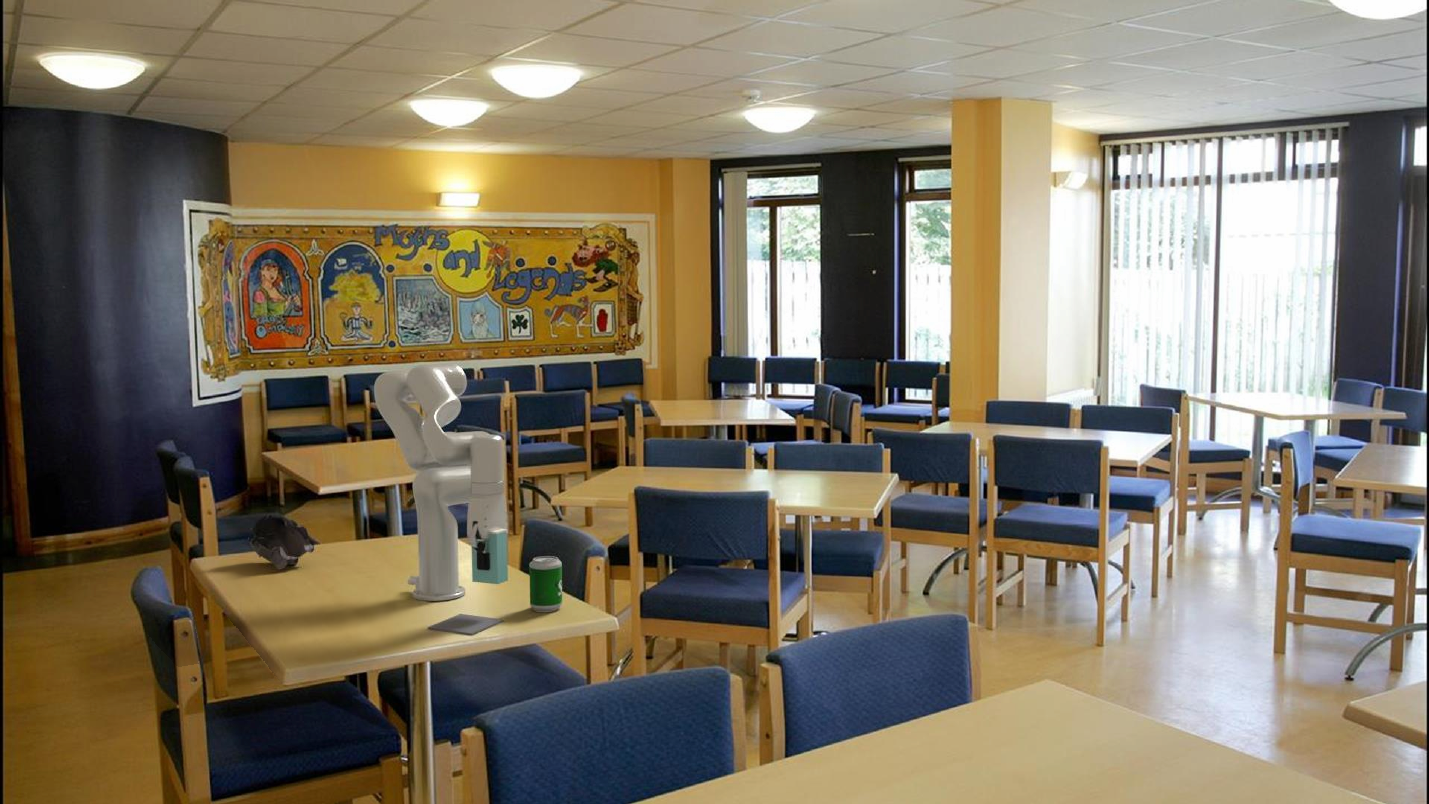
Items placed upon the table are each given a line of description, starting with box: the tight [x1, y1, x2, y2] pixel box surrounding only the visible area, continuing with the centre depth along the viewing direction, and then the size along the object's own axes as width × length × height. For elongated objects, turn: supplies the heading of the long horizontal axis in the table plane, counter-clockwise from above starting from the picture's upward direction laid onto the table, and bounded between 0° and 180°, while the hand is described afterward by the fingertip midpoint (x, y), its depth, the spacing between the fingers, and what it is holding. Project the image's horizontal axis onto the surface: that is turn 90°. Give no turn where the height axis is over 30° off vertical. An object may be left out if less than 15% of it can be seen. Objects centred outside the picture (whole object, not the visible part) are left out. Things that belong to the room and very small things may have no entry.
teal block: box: [471, 528, 509, 585], centre depth 262 cm, size 7×4×12 cm, turn 66°
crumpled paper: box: [247, 514, 315, 570], centre depth 313 cm, size 14×15×20 cm
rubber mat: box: [427, 613, 505, 636], centre depth 255 cm, size 12×12×1 cm
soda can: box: [528, 555, 563, 613], centre depth 268 cm, size 8×8×12 cm
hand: (489, 566), depth 262 cm, fingers closed on teal block, 4 cm apart
